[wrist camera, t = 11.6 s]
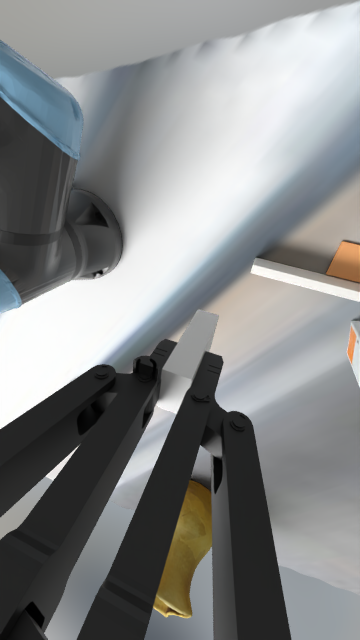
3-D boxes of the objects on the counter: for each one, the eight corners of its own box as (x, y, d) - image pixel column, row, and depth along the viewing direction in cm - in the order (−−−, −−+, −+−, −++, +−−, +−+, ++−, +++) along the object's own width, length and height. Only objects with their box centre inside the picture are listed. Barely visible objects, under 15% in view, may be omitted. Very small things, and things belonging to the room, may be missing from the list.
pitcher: (213, 519, 78) (184, 637, 57) (160, 488, 82) (115, 588, 61) (231, 493, 69) (205, 622, 48) (170, 460, 73) (123, 566, 52)
